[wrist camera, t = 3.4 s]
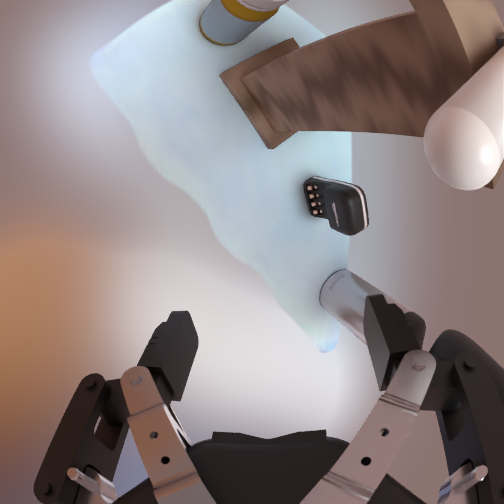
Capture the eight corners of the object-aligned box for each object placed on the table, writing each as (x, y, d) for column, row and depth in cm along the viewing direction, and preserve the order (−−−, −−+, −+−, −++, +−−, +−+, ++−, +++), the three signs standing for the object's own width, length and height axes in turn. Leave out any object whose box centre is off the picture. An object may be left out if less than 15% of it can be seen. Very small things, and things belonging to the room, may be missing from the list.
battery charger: (297, 181, 43) (344, 195, 34) (316, 173, 44) (365, 185, 34) (307, 220, 47) (352, 243, 37) (324, 212, 47) (371, 231, 38)
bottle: (254, 35, 32) (313, -3, 19) (215, 54, 31) (261, 12, 18) (230, 1, 28) (278, -48, 16) (189, 18, 28) (222, -37, 15)
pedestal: (327, 107, 41) (525, 116, 13) (268, 148, 39) (493, 189, 12) (287, 40, 34) (482, -20, 7) (219, 75, 33) (428, -26, 5)
